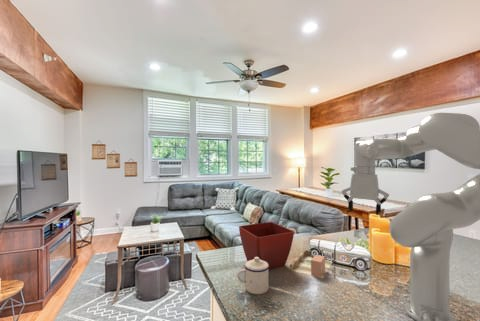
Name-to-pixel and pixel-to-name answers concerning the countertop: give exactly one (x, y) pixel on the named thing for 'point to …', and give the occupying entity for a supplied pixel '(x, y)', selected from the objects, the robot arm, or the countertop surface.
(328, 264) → the cream flat slab
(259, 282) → the teacup with lid
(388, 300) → the countertop surface
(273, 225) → the plant pot
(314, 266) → the rust block
